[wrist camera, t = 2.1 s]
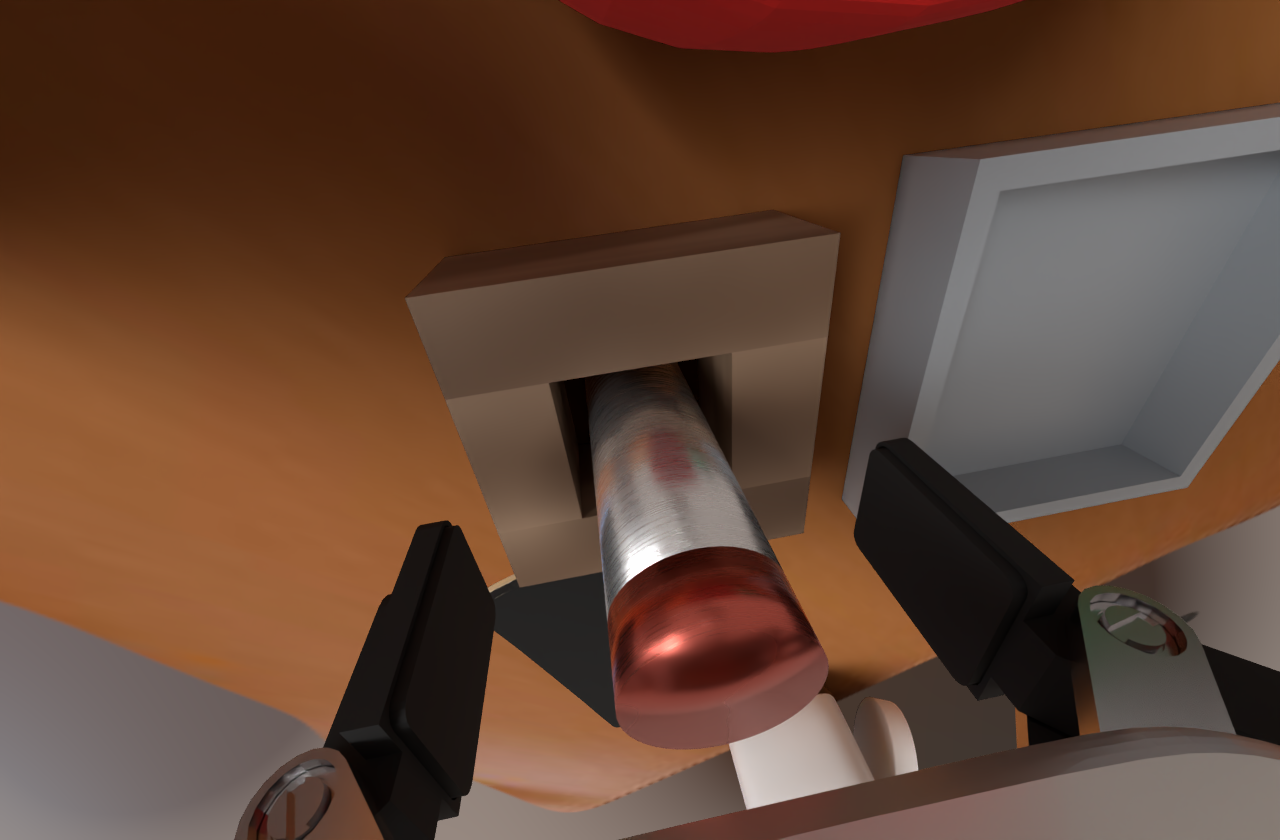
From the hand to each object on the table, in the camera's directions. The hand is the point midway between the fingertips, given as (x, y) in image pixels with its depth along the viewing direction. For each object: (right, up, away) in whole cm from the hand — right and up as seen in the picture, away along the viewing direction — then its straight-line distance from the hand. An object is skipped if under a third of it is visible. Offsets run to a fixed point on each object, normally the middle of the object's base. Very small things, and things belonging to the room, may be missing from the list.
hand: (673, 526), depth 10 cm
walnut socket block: (-1, +4, +6) cm, 7 cm away
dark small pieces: (-2, -9, +15) cm, 17 cm away
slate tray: (+15, +6, +7) cm, 18 cm away
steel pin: (-1, +4, +6) cm, 7 cm away
